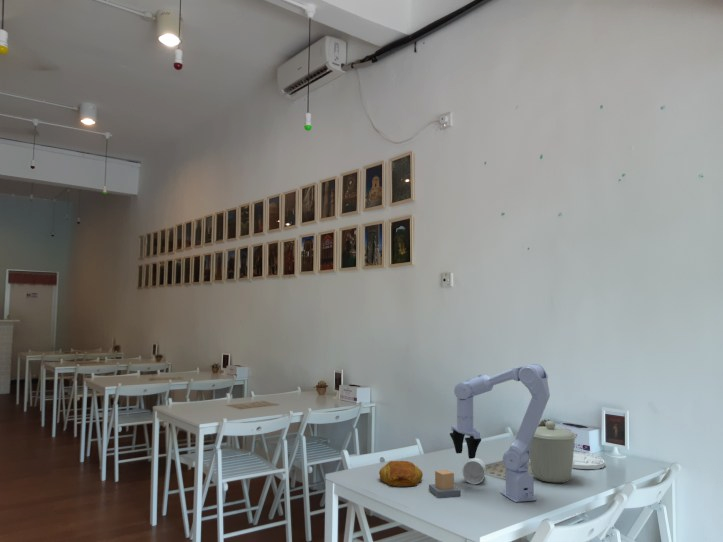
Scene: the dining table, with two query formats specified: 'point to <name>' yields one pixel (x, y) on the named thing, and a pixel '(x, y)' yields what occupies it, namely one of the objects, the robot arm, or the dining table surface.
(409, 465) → the croissant
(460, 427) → the robot arm
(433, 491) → the slate coaster
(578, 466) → the embossed medallion
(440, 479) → the tan rectangular block
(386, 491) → the dining table surface
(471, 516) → the dining table surface
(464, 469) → the white cup
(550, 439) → the canister
